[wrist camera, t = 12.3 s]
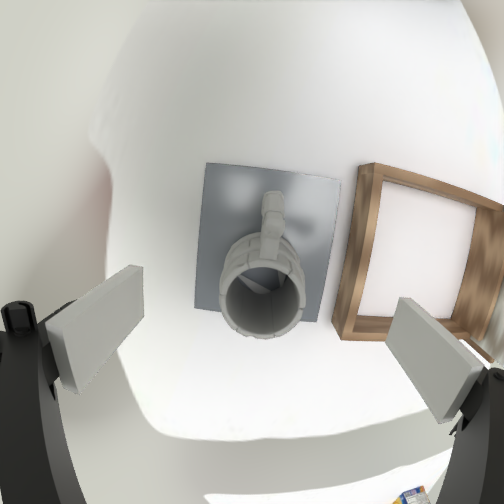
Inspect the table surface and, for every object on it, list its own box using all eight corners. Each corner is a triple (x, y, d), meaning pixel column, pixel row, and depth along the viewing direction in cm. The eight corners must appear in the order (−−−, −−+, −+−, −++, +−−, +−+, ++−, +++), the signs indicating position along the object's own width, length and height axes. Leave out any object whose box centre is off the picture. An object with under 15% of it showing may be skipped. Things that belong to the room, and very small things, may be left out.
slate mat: (207, 163, 28) (206, 162, 27) (339, 180, 28) (341, 180, 27) (195, 306, 31) (194, 308, 31) (315, 320, 31) (316, 322, 31)
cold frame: (358, 165, 27) (482, 144, 9) (486, 203, 27) (590, 225, 9) (329, 327, 31) (384, 451, 13) (455, 329, 31) (532, 400, 13)
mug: (222, 295, 30) (201, 356, 18) (234, 185, 28) (214, 182, 16) (291, 303, 30) (308, 367, 18) (308, 195, 28) (342, 199, 16)
